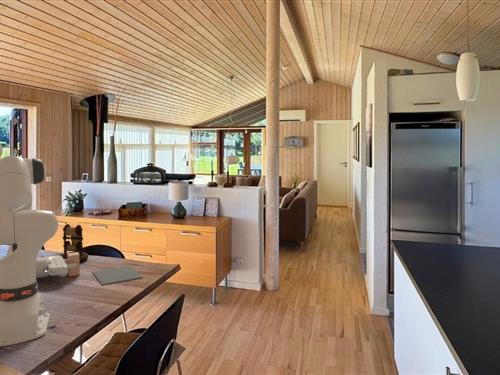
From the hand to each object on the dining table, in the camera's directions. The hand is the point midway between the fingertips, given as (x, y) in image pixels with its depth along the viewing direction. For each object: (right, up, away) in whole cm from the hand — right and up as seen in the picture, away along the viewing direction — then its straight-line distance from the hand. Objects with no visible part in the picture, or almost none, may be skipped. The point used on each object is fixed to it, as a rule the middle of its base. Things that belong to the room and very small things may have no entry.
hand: (75, 262), depth 171 cm
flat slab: (+20, -6, 0) cm, 21 cm away
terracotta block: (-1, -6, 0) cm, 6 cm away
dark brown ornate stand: (-12, -4, +22) cm, 25 cm away
